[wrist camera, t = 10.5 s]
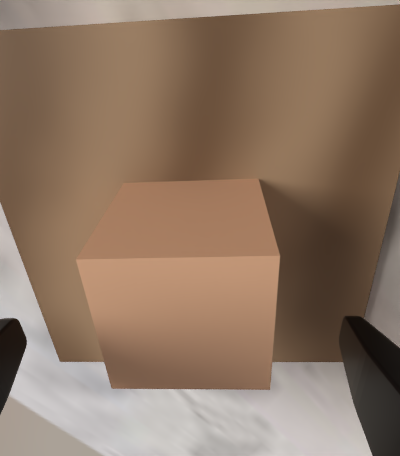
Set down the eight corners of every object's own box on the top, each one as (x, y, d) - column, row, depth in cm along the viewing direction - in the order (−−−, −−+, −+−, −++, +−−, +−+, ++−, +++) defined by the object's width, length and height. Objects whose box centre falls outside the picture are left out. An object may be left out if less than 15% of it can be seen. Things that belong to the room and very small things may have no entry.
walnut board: (423, 4, 11) (441, 1, 10) (346, 346, 18) (353, 361, 17) (-42, 34, 12) (-63, 34, 11) (67, 346, 19) (60, 361, 18)
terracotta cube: (258, 178, 13) (280, 255, 8) (254, 286, 15) (270, 389, 11) (123, 183, 13) (75, 259, 8) (141, 287, 15) (111, 388, 11)
